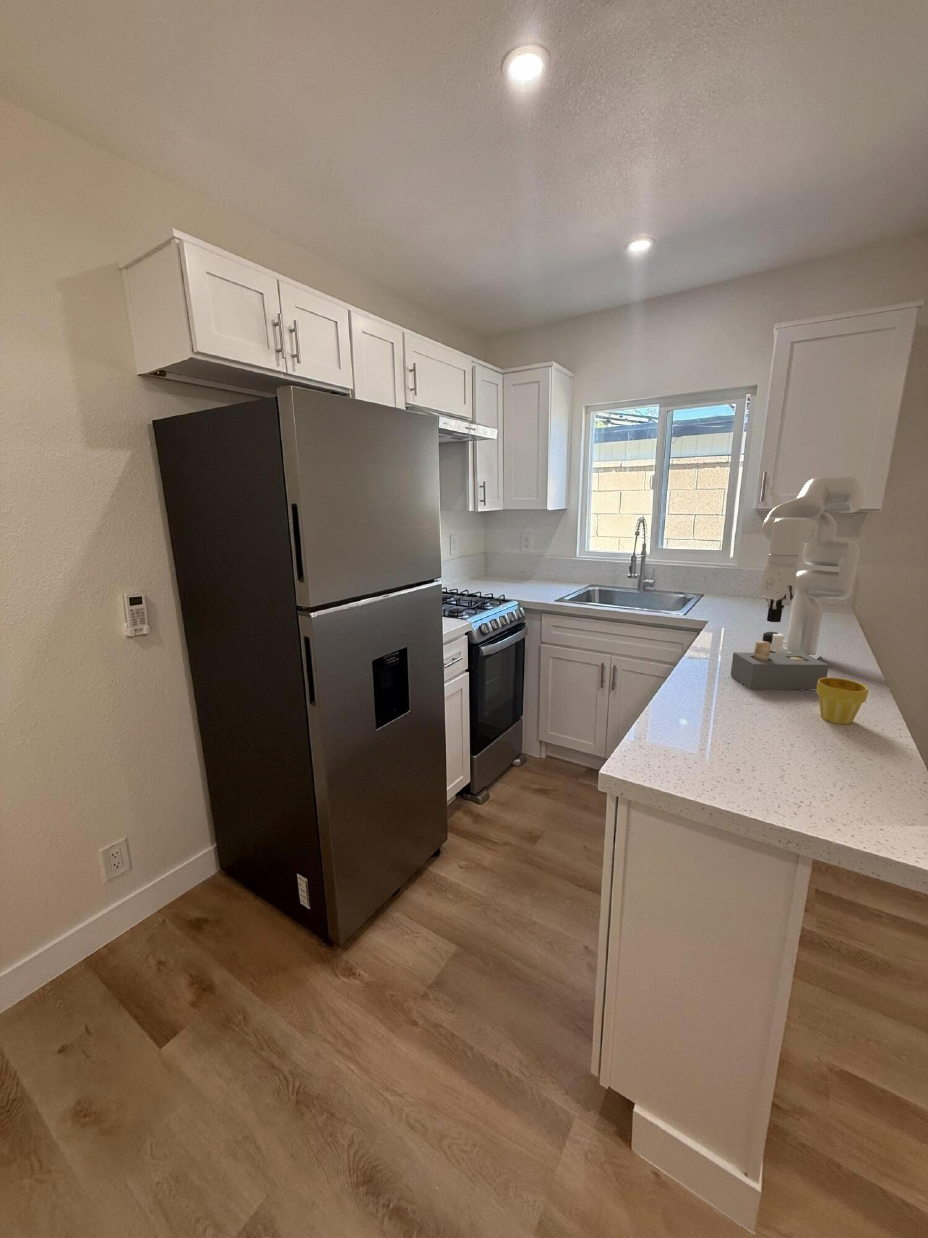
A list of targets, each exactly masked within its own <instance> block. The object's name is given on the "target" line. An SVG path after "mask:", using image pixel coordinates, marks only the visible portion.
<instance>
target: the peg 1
mask: <svg viewBox="0 0 928 1238" xmlns="http://www.w3.org/2000/svg"><path fill="white" fill-rule="evenodd" d="M770 646H771V643H769V642H766V641H762V640H757V641H755V647H754V652H753V653H754V659H756V660H757V661H768V660H769V653H770Z"/></svg>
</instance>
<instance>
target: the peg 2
mask: <svg viewBox="0 0 928 1238" xmlns="http://www.w3.org/2000/svg"><path fill="white" fill-rule="evenodd" d="M790 659H792V660H794V661H805V660H804V659H802V658H797V657H790Z"/></svg>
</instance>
